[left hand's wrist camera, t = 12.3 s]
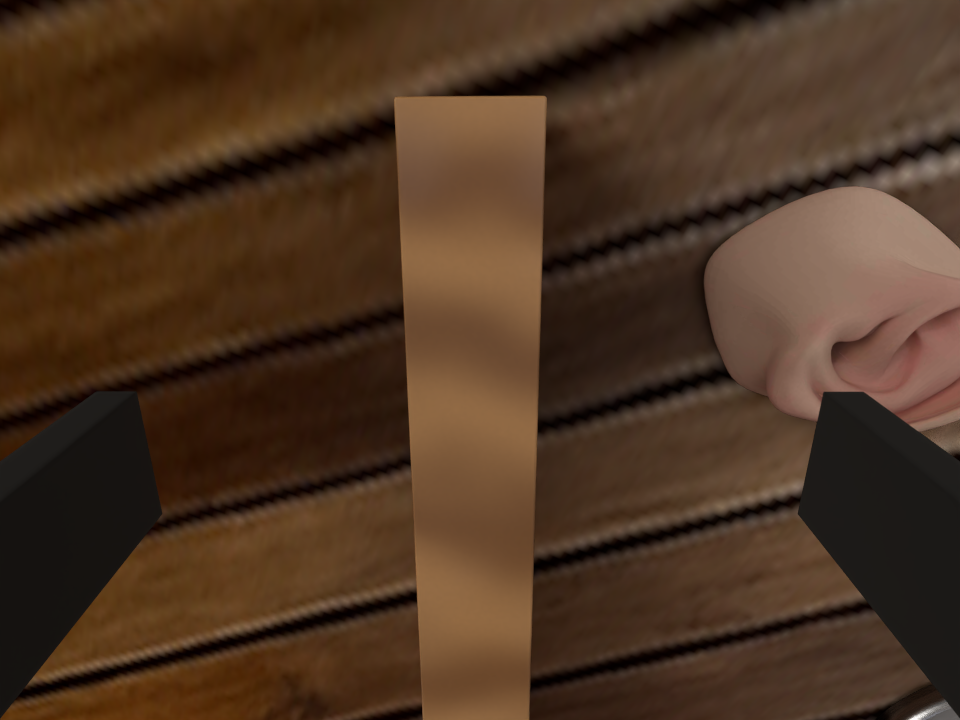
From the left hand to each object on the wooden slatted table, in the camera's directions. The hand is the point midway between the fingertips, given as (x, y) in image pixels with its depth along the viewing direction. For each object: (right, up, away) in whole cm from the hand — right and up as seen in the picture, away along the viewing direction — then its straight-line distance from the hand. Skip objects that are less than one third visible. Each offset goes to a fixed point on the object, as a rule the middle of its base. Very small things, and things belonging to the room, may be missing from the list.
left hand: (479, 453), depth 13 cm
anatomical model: (+17, +4, +19) cm, 26 cm away
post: (0, -13, +25) cm, 28 cm away
